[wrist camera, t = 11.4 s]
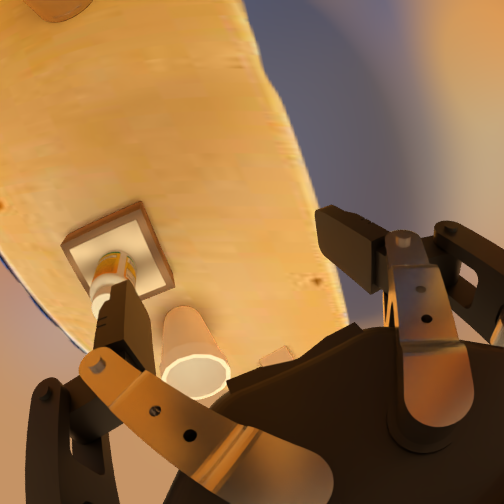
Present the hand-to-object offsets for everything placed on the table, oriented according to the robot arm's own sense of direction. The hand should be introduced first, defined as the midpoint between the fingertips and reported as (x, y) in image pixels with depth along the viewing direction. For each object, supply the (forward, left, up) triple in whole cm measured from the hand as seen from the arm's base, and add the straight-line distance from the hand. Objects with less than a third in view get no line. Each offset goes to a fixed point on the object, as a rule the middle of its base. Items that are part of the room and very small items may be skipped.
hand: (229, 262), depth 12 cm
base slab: (+9, -12, -29) cm, 32 cm away
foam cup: (+24, -8, -29) cm, 38 cm away
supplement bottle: (+9, -12, -25) cm, 29 cm away
